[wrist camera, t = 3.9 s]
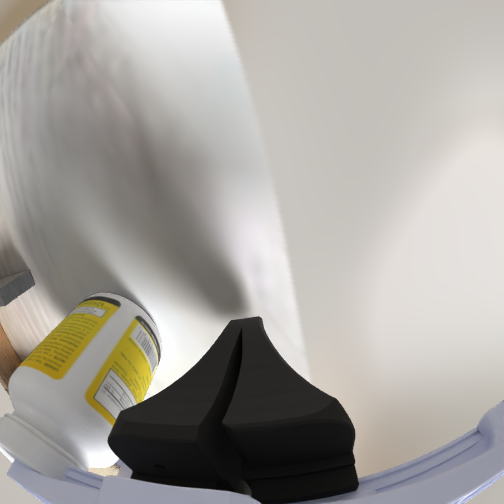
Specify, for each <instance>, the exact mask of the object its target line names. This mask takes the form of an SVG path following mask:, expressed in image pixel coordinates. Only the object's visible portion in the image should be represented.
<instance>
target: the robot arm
mask: <svg viewBox="0 0 504 504" xmlns="http://www.w3.org/2000/svg"><path fill="white" fill-rule="evenodd" d="M354 441H355V429H354V426H353V424H352V422H351V420H350V418H349V416H348V414H347V413H346V411H345V410H344V408H343V407H342V405H341V404H340V403H339V401H338V400H337V399H336V398H334V397H332V396H330V395H328V394H326V393H324V392H323V391H321V390H319V389H318V388H316V387H315V386H313V385H312V384H310V383H309V382H308V381H306V380H305V379H304V378H303V377H302V376H300V375H299V374H298V373H297V372H295V371H294V370H293V369H292V368H291V367H290V366H289V365H288V364H287V362H286V361H285V360H284V359H283V358H282V357H281V355H280V354H279V353H278V352H277V350H276V349H275V347H274V346H273V344H272V343H271V341H270V339H269V338H268V336H267V334H266V332H265V330H264V326H263V321H262V318H261V317H259V316H258V317H251V318H245V319H238V320H231V321H230V322H229V323H228V325H227V326H226V328H225V329H224V330H223V332H222V333H221V335H220V336H219V337H218V339H217V340H216V341H215V343H214V344H213V345H212V346H211V348H210V349H209V350H208V351H207V352H206V354H205V355H204V356H203V357H202V358H201V359H200V360H199V361H198V362H197V363H196V364H195V365H194V366H193V367H192V368H191V369H190V370H189V371H188V372H187V373H186V374H184V375H183V376H182V377H181V378H179V379H178V380H177V381H175V382H174V383H173V384H171V385H170V386H168V387H167V388H166V389H164V390H162V391H161V392H159V393H157V394H156V395H154V396H152V397H150V398H149V399H147V400H145V401H143V402H140V403H138V404H136V405H134V406H131V407H129V408H127V409H124V410H121V411H120V413H119V415H118V417H117V419H116V421H115V423H114V425H113V428H112V430H111V432H110V434H109V436H108V440H107V442H108V445H109V447H110V449H111V450H112V451H113V453H114V454H115V455H116V456H117V457H118V458H119V459H118V461H117V462H116V464H117V465H118V466H119V467H120V470H119V472H118V475H117V476H113V475H110V476H106V477H104V476H101V475H97V474H94V473H91V472H88V471H85V470H82V469H80V468H77V467H74V466H71V465H69V466H68V468H69V469H70V471H67V470H66V472H65V476H67V477H66V479H65V481H60V480H57V479H54V478H51V477H47V476H44V475H42V474H39V473H38V472H36V471H35V470H33V469H31V468H30V467H28V466H26V465H25V464H23V463H22V462H20V461H18V460H17V459H15V460H14V462H13V463H12V465H11V467H10V469H9V470H8V472H7V475H8V476H9V477H10V478H11V479H13V480H14V481H15V482H16V483H17V484H18V485H20V486H21V487H22V488H24V489H25V490H26V491H27V492H29V493H30V494H32V495H33V496H34V497H36V498H37V499H38V500H40V501H41V502H43V503H44V504H464V503H465V502H467V501H468V500H470V499H472V498H473V497H475V496H476V495H478V494H479V493H480V492H482V491H483V490H485V489H486V488H488V487H489V486H490V485H492V484H493V483H494V482H496V481H497V480H498V479H499V478H501V477H502V476H503V475H504V400H503V401H501V402H500V403H499V404H497V405H496V406H494V407H493V408H491V409H490V410H489V411H488V412H487V413H486V414H485V415H484V416H483V417H482V418H481V420H480V421H479V423H478V425H477V427H476V428H474V429H472V430H471V431H469V432H467V433H466V434H464V435H462V436H460V437H459V438H457V439H455V440H453V441H451V442H450V443H448V444H446V445H444V446H442V447H440V448H438V449H436V450H434V451H431V452H429V453H427V454H425V455H423V456H421V457H418V458H416V459H414V460H411V461H408V462H406V463H403V464H401V465H398V466H396V467H393V468H390V469H387V470H384V471H381V472H378V473H375V474H372V475H368V476H365V477H362V478H357V473H356V469H355V465H354V464H355V458H354V455H353V447H354Z"/></svg>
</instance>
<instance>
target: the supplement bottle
mask: <svg viewBox="0 0 504 504" xmlns="http://www.w3.org/2000/svg"><path fill="white" fill-rule="evenodd" d="M161 355H162V341H161V337H160V334H159V332H158V329H157V327H156V326H155V324H154V322H153V321H152V320H151V318H150V317H149V316H148V315H147V314H146V313H145V312H144V311H143V310H142V309H141V308H140V307H139V306H137V305H136V304H135V303H133V302H132V301H130V300H128V299H126V298H124V297H122V296H119V295H116V294H112V293H97V294H93V295H91V296H89V297H88V298H86V299H85V300H84V301H82V302H81V303H80V304H79V305H78V306H77V307H76V308H75V309H74V310H73V311H72V312H71V313H70V314H69V315H68V316H67V317H66V318H65V319H64V320H63V321H62V322H61V323H60V324H59V325H58V326H57V327H56V328H55V329H54V330H53V331H52V332H51V333H50V334H49V335H48V336H47V337H46V338H45V339H44V340H43V341H42V342H41V343H40V344H39V345H38V346H37V347H36V348H35V349H34V350H33V352H32V353H31V354H30V355H29V356H28V357H27V358H26V359H25V360H24V361H23V362H22V363H21V364H20V365H19V367H18V368H17V369H16V370H15V372H14V373H13V374H12V376H11V378H10V380H9V385H8V390H9V396H10V399H11V402H12V405H13V407H14V409H15V411H14V412H13V414H9V413H6V414H5V415H4V417H1V418H0V451H1V452H2V453H3V454H4V455H5V456H6V457H7V458H8V459H9V460H10V461H11V462H12V463H13V462H14V460H15V459H17V460H18V461H20V462H22V463H23V464H25V465H26V466H28V467H30V468H31V469H33V470H35V471H36V472H38V473H39V474H42V475H44V476H47V477H51V478H54V479H57V480H60V481H65V479H66V477H67V476H65V472H66V470H67V471H70V469H69V468H68V466H69V465H71V466H74V467H77V468H80V469H82V470H85V471H89V469H90V467H95V468H104V467H108V466H111V465H113V464H114V463H116V462H117V461H118V459H119V458H118V457H117V456H116V455H115V454H114V453H113V451H112V450H111V449H110V447H109V445H108V442H107V440H108V436H109V434H110V432H111V430H112V428H113V425H114V423H115V421H116V419H117V417H118V415H119V413H120V411H121V410H124V409H127V408H129V407H131V406H134V405H136V404H138V403H140V402H143V399H144V397H145V395H146V392H147V390H148V388H149V385H150V383H151V381H152V378H153V376H154V374H155V371H156V369H157V366H158V364H159V361H160V358H161Z"/></svg>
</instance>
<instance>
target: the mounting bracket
mask: <svg viewBox="0 0 504 504" xmlns="http://www.w3.org/2000/svg"><path fill="white" fill-rule="evenodd" d="M34 285H35V283H34V281H33V278H32V275H31V272H30V270H27V271H23V272H20V273H16V274H13V275H9V276H6V277H2V278H0V307H1V306H6V305H7V304H9V303H10V302H11V301H13V300H14V299H15V298H17V297H18V296H20V295H21V294H22V293H24V292H25V291H27V290H28V289H30V288H31V287H32V286H34ZM20 364H21V362H20V360H19V358H18V356H17V355H16V353H15V351H14V349H13V348H12V346H11V344H10V342H9V340H8V338H7V336H6V335H5V333H4V331H3V329H2V327H1V324H0V383H1V384H2V386H3V387H4V388H5V390H6V391H7V393H8V394H9V390H8V385H9V380H10V378H11V376H12V374H13V373H14V372H15V370H16V369H17V368H18V367H19V365H20Z"/></svg>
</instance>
